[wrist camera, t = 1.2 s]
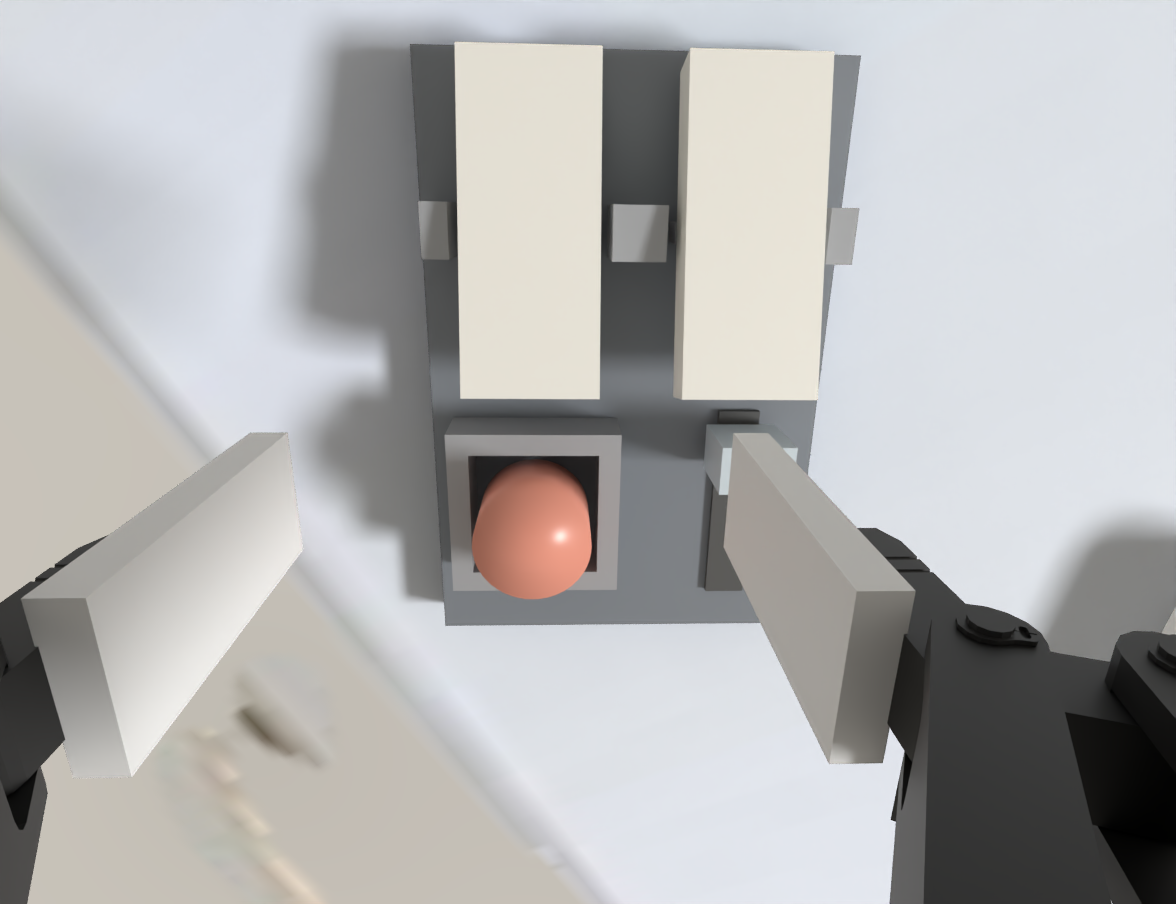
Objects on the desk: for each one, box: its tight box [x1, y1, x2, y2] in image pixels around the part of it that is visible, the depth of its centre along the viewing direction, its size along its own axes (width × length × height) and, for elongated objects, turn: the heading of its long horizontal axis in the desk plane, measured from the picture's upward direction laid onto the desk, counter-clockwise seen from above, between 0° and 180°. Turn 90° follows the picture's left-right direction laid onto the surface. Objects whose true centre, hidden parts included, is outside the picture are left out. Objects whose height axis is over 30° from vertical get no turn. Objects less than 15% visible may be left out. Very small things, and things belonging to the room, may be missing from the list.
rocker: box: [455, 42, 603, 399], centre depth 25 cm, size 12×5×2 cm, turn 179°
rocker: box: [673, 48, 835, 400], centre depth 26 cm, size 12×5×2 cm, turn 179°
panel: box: [410, 44, 861, 626], centre depth 30 cm, size 25×17×5 cm
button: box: [472, 459, 592, 599], centre depth 28 cm, size 5×5×4 cm
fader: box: [704, 424, 798, 495], centre depth 29 cm, size 2×3×3 cm, turn 89°
